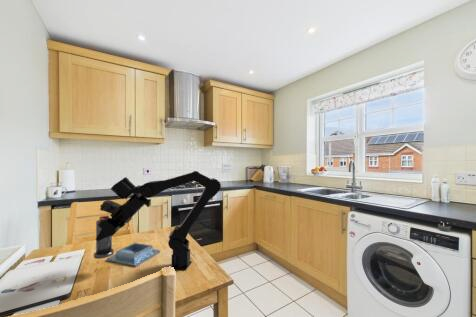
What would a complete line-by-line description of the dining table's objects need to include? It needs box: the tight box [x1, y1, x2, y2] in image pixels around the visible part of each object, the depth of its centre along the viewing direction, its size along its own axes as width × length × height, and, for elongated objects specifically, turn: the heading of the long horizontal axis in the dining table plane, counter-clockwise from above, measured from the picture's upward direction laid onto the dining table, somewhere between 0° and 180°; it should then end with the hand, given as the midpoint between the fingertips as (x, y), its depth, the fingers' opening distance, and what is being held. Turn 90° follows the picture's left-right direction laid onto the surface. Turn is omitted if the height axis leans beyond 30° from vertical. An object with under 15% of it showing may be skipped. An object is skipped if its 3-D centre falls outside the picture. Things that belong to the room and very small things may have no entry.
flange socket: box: [106, 242, 161, 268], centre depth 92 cm, size 16×14×4 cm
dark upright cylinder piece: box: [93, 215, 115, 260], centre depth 79 cm, size 6×6×14 cm
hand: (100, 237), depth 79 cm, fingers closed on dark upright cylinder piece, 5 cm apart
